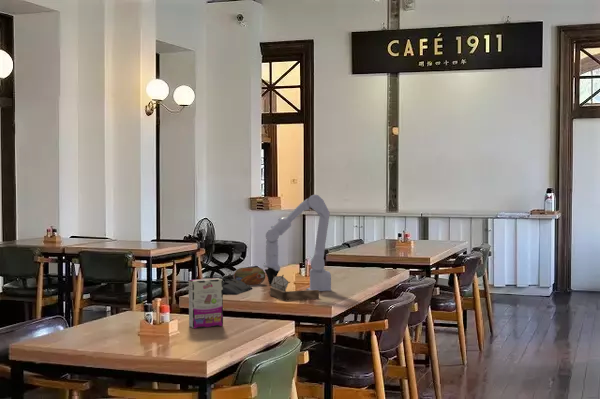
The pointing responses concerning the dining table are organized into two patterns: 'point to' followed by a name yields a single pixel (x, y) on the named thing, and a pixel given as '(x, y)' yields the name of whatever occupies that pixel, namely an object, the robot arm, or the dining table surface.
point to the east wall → (277, 293)
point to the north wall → (301, 294)
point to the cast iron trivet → (235, 287)
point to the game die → (279, 283)
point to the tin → (250, 275)
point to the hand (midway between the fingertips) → (271, 284)
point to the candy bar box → (205, 303)
